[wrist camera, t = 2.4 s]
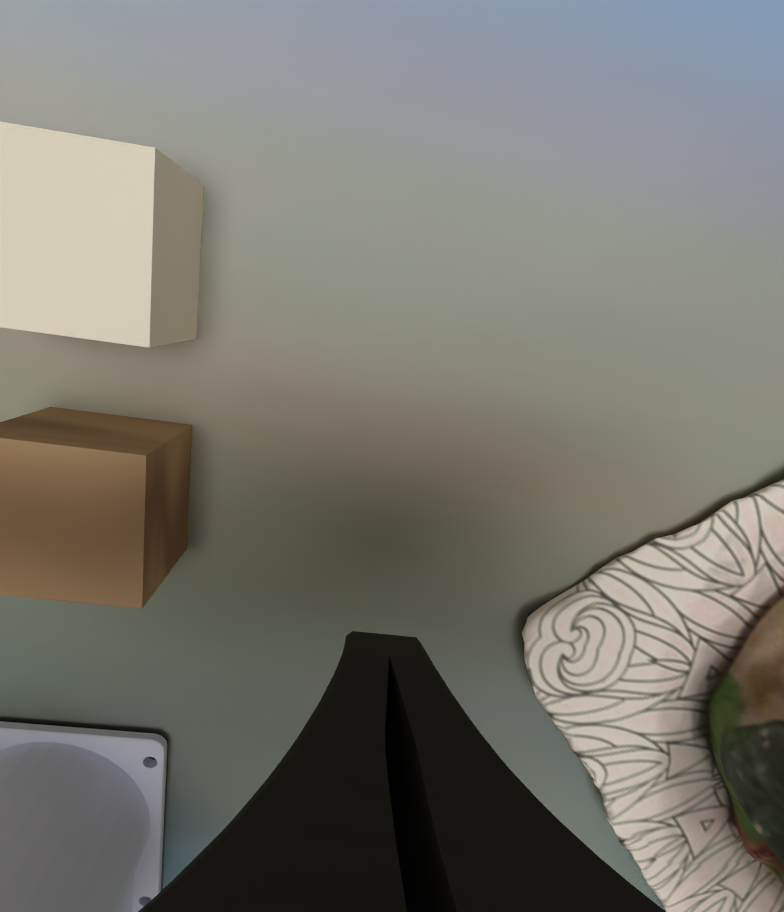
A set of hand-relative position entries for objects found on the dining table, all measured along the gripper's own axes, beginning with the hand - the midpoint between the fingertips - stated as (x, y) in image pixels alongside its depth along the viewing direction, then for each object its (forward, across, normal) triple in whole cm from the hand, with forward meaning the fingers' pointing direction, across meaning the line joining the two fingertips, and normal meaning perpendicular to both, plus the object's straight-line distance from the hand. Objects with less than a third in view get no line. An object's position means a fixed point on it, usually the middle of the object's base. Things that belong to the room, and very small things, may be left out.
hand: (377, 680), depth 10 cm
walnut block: (+9, +8, 0) cm, 12 cm away
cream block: (+9, +8, -7) cm, 14 cm away
